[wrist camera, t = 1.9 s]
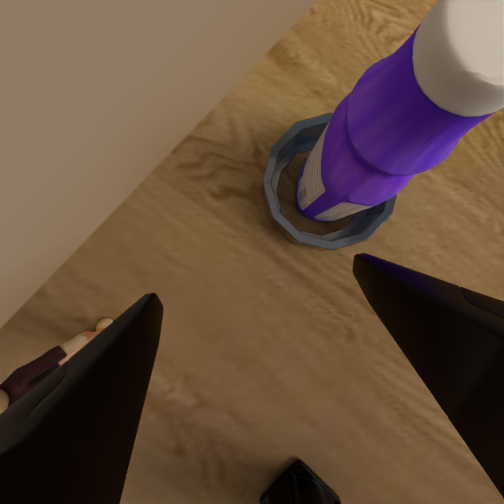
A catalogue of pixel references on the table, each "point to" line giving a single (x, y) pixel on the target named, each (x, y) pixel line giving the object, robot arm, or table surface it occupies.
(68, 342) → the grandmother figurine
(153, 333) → the robot arm
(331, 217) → the bottle
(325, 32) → the table surface
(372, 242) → the table surface
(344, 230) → the ring
